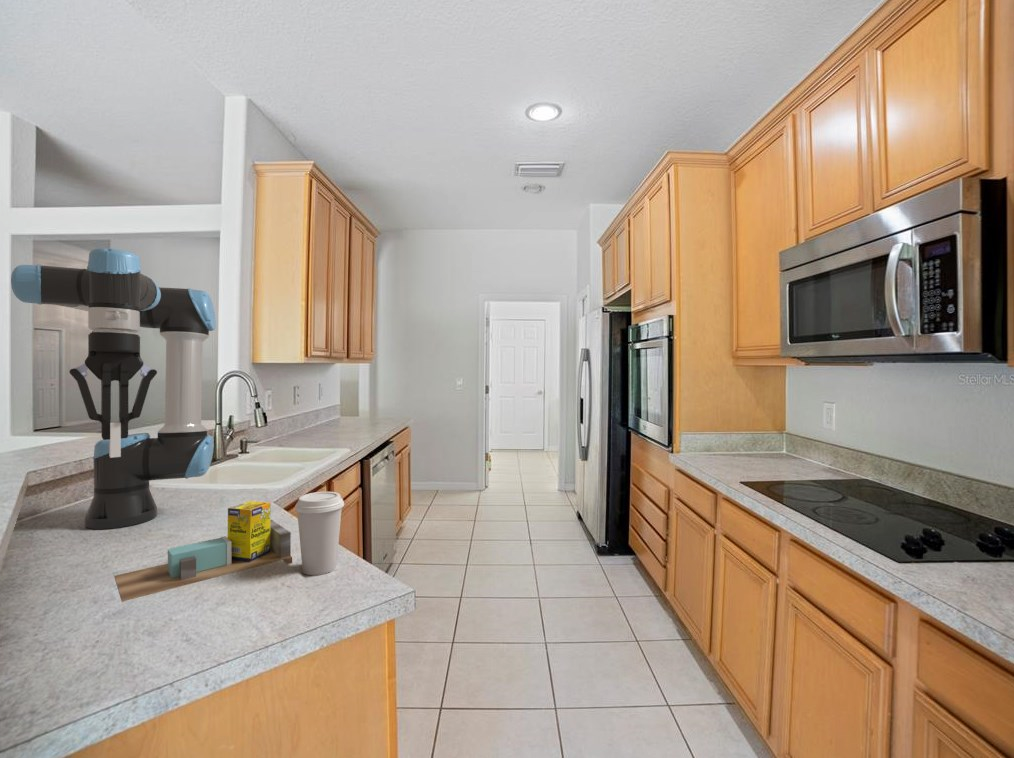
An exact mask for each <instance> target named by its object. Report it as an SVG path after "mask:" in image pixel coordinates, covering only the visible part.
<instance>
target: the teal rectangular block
mask: <svg viewBox="0 0 1014 758" xmlns="http://www.w3.org/2000/svg"><path fill="white" fill-rule="evenodd" d="M231 548H232V542H231V541H230V540H229V539H228V536H224V535H223V536H221V537H219V538H213V539H209V540H205V541H198V542H195V543H190V544H184V545H180V546H175V547H170V548H168V549H167V564H168V573H169V574H170V576H171V578H175V577H179V559H184V558H188V557H193V556H195V558H196V572H199V571H203V570H207V569H211V568H215V567H219V566H223V565H230V564H231Z"/></svg>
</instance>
